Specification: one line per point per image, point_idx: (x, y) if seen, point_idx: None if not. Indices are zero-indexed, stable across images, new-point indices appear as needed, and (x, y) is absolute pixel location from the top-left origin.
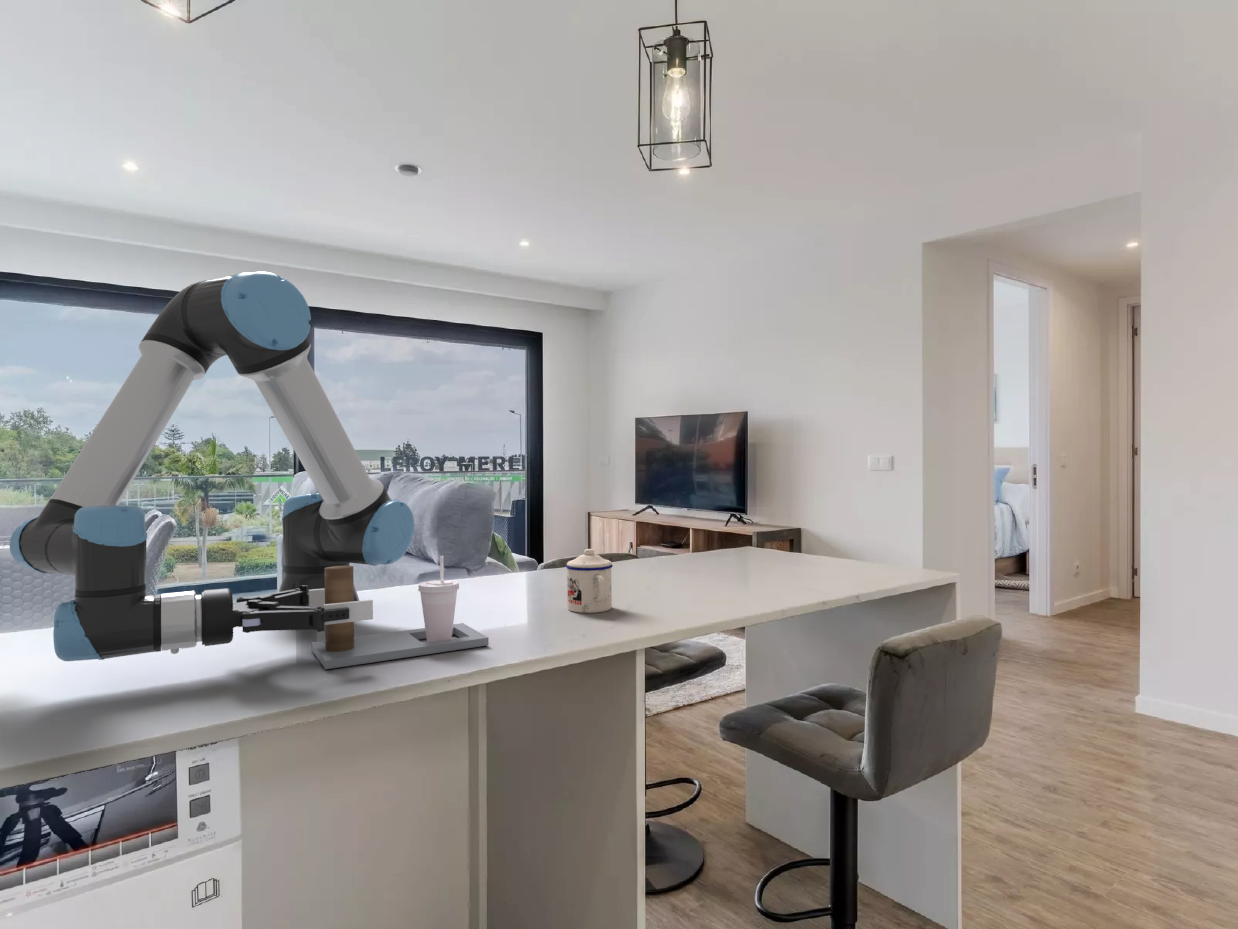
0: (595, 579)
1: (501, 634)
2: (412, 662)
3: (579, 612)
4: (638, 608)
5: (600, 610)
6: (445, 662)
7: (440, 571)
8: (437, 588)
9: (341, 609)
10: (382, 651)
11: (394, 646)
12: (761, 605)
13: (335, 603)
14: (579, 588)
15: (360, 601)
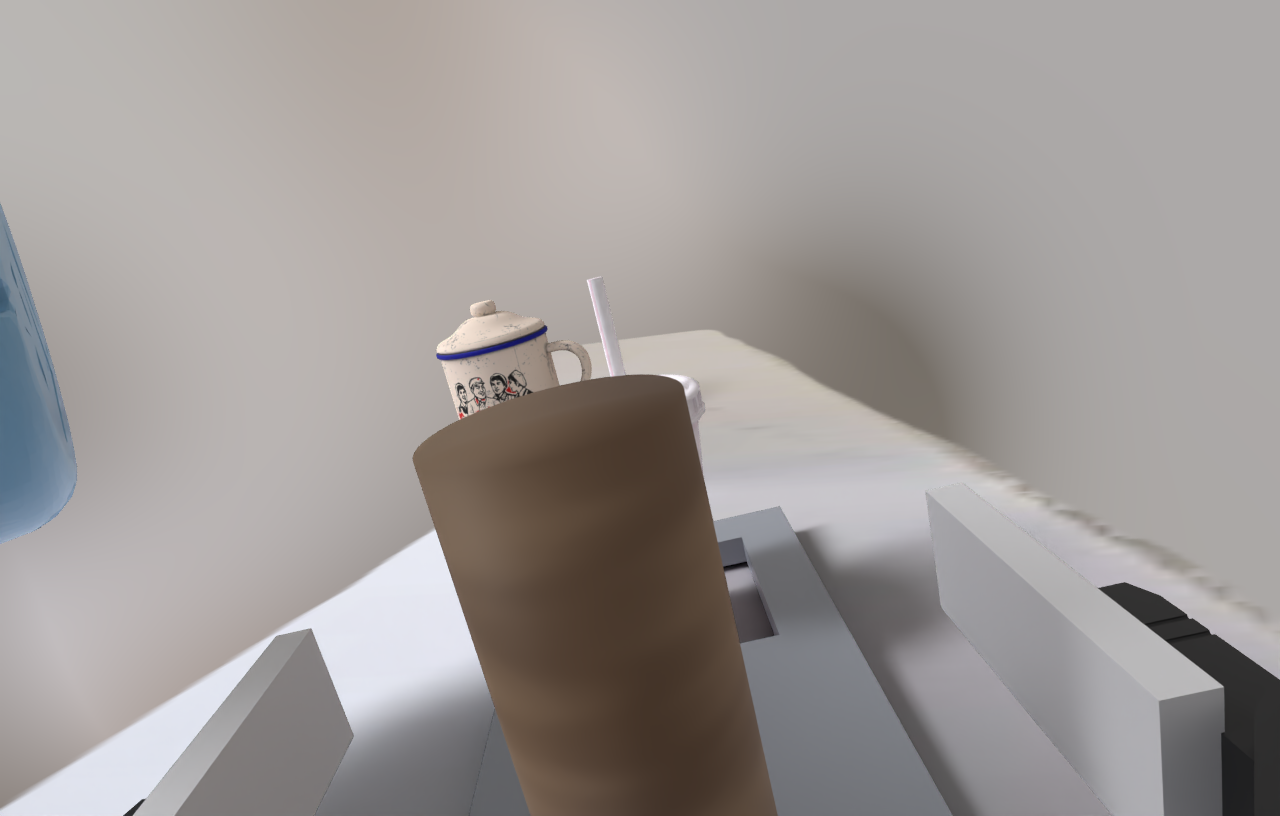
0: (547, 355)
1: None
2: (953, 693)
3: None
4: None
5: None
6: None
7: (614, 345)
8: (695, 398)
9: (1175, 616)
10: (894, 760)
11: (798, 718)
12: (676, 335)
13: (1085, 622)
14: (529, 388)
15: (996, 517)
